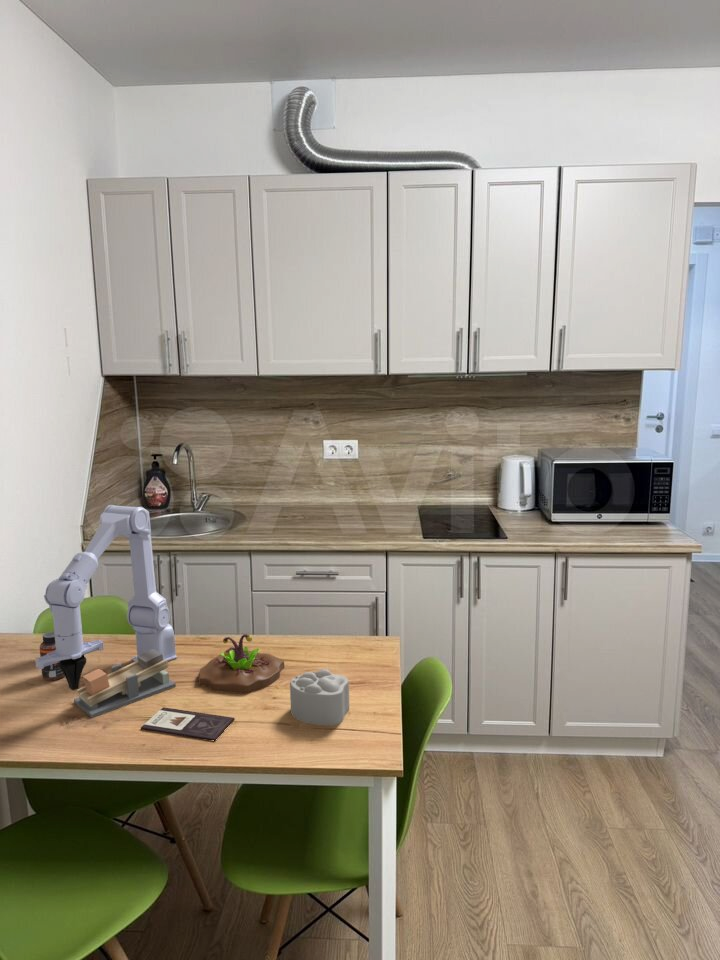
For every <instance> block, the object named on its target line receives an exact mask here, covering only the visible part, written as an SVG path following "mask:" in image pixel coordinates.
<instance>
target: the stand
mask: <svg viewBox="0 0 720 960" xmlns="http://www.w3.org/2000/svg"><path fill="white" fill-rule="evenodd" d="M121 668H123V664H122V663H118V664H114V665H113V666H111V668H110V669H111V673H113V672H115V671H117V670H119V669H121ZM169 674H170V673H169V672H168V671H167V670H166V669H164V670H162V671H160V672H158V673H156V674H154V675H152V676H150V677H148V678H146V679H144V680H143V681H141V682H140V684H141V686H140V687H138V678H137V675H136V674H135V675H132V676H129V677H126V683H127V689H125V691H126V694H125V695H122V694H121V693H117V694H115V695H113V696H111V697H109V698H107V699H105V700H103V701H101V702H99V703H97V704H95V705H93V706H91V707H90V706H89V705H88V704H87V703H85V702H84V701H83V700H82V699H81V698H80V697H79V696H78V697H76V698H74V699H73V703H74V704H75V705H77V707H79V708H80V709H81V710H82V711H83V712H85V713H86V714H87V715H88V716H89V717H90V718H91V719H92V718H95V717H97V716H100V715H103V714H106V713H109V712H111V711H114V710H116V709H119V708H121V707H125V706H127V705H130V704H133V703H135V702H138V701H141V700H143V699H146V698H149V697H151V696H155V695H156V694H159V693H162V692H165V691H167V690H171V689H173V688H175V687H177V686H176V685H177V684H176V683H175V682H174V681H173V680H171V679H170V675H169Z"/></svg>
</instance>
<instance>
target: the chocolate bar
mask: <svg viewBox="0 0 720 960" xmlns="http://www.w3.org/2000/svg"><path fill="white" fill-rule="evenodd" d="M234 721H235V717H233V716H224V715H219V714H211V713H205V712H204V713H203V712H197V711H191V710H183V709H176V708H171V707H170V708H169V707H162V708H160V709H159V710H158V711H157V712H156V713H155V714H154V715H153V716H152V717H151V718H150V719H149V720H148V721H145V723H144V724H143V725H142V726H140V730H141V731H146V732H152V733H153V732H154V733H159V734H166V735H172V736H178V737H185V738H190V737H191V738H192V739H197V738H198V739H197V740H203V739H206V740H205V741H209V740H214V741H213V742H217V740H218V739H219V738H220V737H221V736H222V735H223V734H224V733H225V731H226V730H227V729H228V728H229V727H230V726H231V725H232V724H233V722H234ZM230 724H231V725H230ZM229 725H230V726H229ZM228 726H229V727H228ZM227 727H228V728H227ZM226 728H227V729H226ZM225 729H226V730H225ZM224 730H225V731H224ZM222 733H223V734H222ZM221 734H222V735H221ZM220 735H221V736H220ZM219 736H220V737H219ZM218 737H219V738H218ZM217 738H218V739H217ZM216 739H217V740H216Z"/></svg>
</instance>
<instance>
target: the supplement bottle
mask: <svg viewBox="0 0 720 960" xmlns="http://www.w3.org/2000/svg"><path fill="white" fill-rule="evenodd" d="M55 650H56V644H55V634H54V631H48V632H46V633H44V634H43V635H42V642H41V643H40V645H39V655H40V657H42V656H44V655H47V654H49V653H51V652H53V651H55ZM40 657H39V658H40ZM41 677H42V679H43V680H46V681H56V680H60V679H63V678H65V675H64V673H63V671H62V670H61V668H60V667H59V665H58V664H57V663H55V664H52V665H49V666H45V667H44V668H43V669H41Z"/></svg>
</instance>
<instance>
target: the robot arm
mask: <svg viewBox="0 0 720 960" xmlns="http://www.w3.org/2000/svg"><path fill="white" fill-rule="evenodd" d="M150 519H151V518H150V512H149V510H147V509H145V508H144V507H143V506H125V505H115V504H109V505H107V506H106V507H105V508H104V510H103V511H102V513H101V514H100V516H99V524H100V525H99V527H98V528H97V530H96V531H95V533H94V535H93V536H92V538H91V540H90V541H89V543H88V545H87V546H86V549H85V550H84V551H83V552H78V553H76V554H74V555H73V557H72V559H71V561H70V562H69V563H68V565H67V566H66V567H65V569H64V570H63V572H62V573H61V574H60V576H59V577H58V578H56V579H54V580H52V581H50V582H49V583H48V585H47V586H46V588H45V594H44V595H43V597H44V601H45V602H46V604H47V605H48V606H49V611H50V612H51V613H52V619H53V620H52V622H53V632H54V634H55V644H56V650H55V651H53V652H51V653H49V654H47V655H44V656H42V657H37V658H35V667H36V668H37V669H38V670H42V669H43V668H44V667H45V666H49V665H52V664H55V663H57V664H58V665H59V667H60V668H61V670H62V671H63V673H64V675H65V676H64V678H65V679H66V682H67V684H68V688H69V689H70V690H71V691H77V689H79V687H80V681H81V680H80V679H81V676H82V673H83V670H84V668H85V666H86V665H87V658H86V657H85V655H86V654H91V653H93V652H97V651H99V652H102V651H104V650H105V649H104V648H105V646H104V641H102V640H101V639H98V640H93V641H89V642H84V637H83V626H82V616H81V604H82V602H83V601H84V598H85V596H86V590H87V588H88V585H87V584H88V583H89V581H90V580H91V579H92V577H93V576H94V574H95V573H96V571H97V570H98V567H99V561H98V559H99V558H100V557H101V556H102V555H103V553H104V552H105V551H106V550H107V548H108V547H109V546H110V545H111V543H112V542H113V541H114V540H115V539H116V538H117V537H123V536H125V537H126V538H128V540H129V549H130V562H131V569H132V571H131V572H132V580H133V590H134V596H132V597H131V598H130V599H129V600H128V601H127V607H128V608H127V611H126V612H127V613H126V618H127V623H128V625H130V626H131V627H132V631H134V632H135V644H136V656H134V657H133V656H132V657H131V661H133V662H135V661H137V660H138V659H137V656H139V655H141V654H143V653H145V652H147V651H149V650H151V649H155V650H156V651H158V652H159V653H161V654H162V656H163V660H165V659H166V660H167V662H169V661H172V660H175V659H178V656H177V653H176V652H177V651H176V639H175V638H176V637H175V631H174V628H173V626H172V625H171V624H170V623H169V622H170V619H171V611H170V610H169V609H170V608H168V605H167V599H166V598H165V597H163V596H162V595H161V594H160V593H158V591H157V587H156V586H157V585H156V575H155V566H154V565H155V564H154V554H153V546H152V544H153V543H152V529H151V528H152V527H151V520H150Z"/></svg>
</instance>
